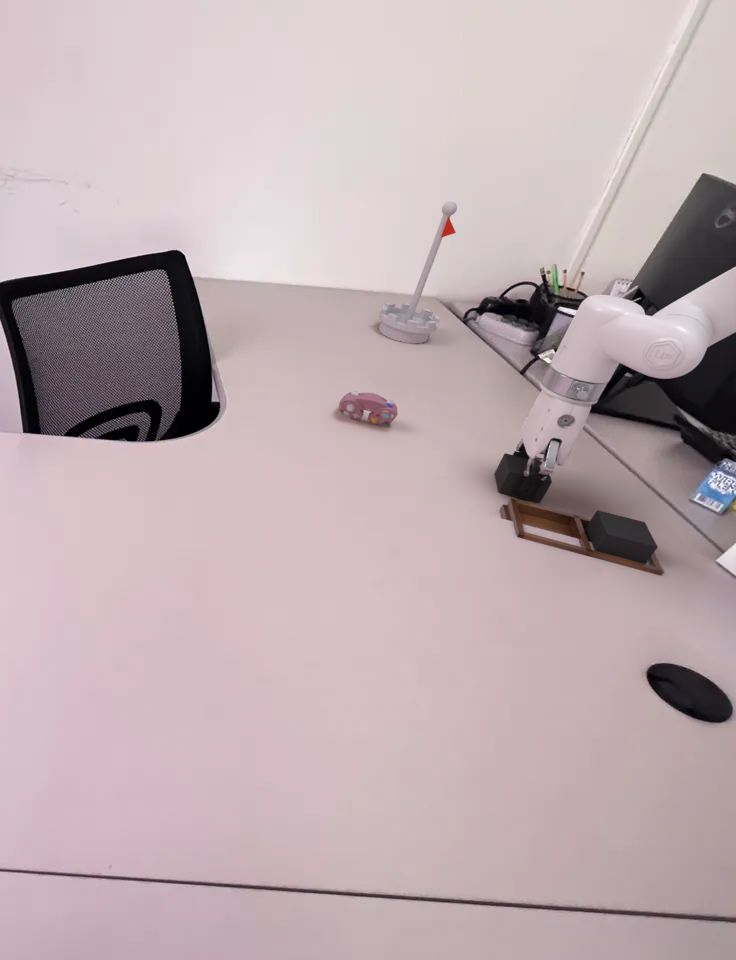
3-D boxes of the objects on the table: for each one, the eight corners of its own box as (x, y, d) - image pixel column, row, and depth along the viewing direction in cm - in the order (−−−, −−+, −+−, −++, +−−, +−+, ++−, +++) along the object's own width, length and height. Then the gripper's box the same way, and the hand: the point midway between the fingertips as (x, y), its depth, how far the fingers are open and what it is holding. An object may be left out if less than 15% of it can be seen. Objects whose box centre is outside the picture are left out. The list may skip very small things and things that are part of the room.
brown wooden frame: (636, 545, 97) (646, 531, 96) (657, 588, 89) (668, 574, 88) (499, 509, 102) (507, 496, 100) (508, 548, 94) (516, 534, 93)
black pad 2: (629, 543, 96) (645, 521, 93) (641, 569, 91) (658, 547, 89) (582, 531, 97) (596, 509, 95) (592, 556, 92) (607, 534, 90)
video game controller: (333, 422, 123) (341, 398, 117) (338, 403, 125) (347, 379, 119) (389, 436, 121) (400, 413, 115) (393, 416, 123) (405, 393, 117)
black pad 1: (534, 483, 109) (545, 462, 107) (540, 503, 104) (552, 481, 102) (494, 473, 110) (504, 452, 108) (498, 492, 106) (509, 471, 103)
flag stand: (365, 322, 165) (408, 192, 148) (414, 324, 166) (462, 196, 149) (390, 344, 154) (439, 206, 137) (442, 346, 156) (497, 211, 139)
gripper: (617, 415, 89) (553, 522, 99) (588, 367, 103) (534, 465, 113) (555, 402, 91) (498, 508, 101) (534, 356, 105) (486, 453, 115)
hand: (518, 484), depth 107 cm, fingers closed on black pad 1, 6 cm apart
